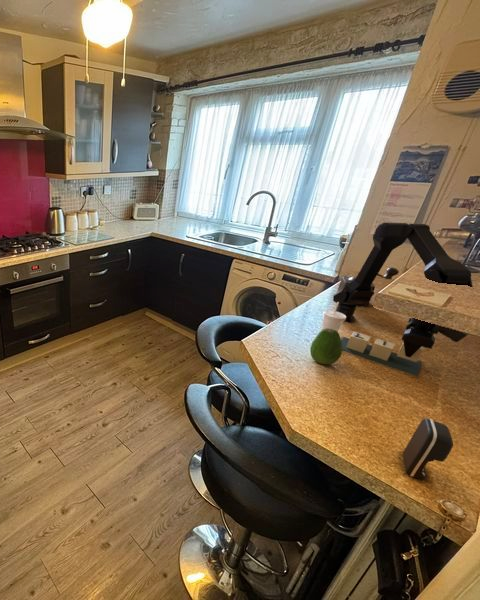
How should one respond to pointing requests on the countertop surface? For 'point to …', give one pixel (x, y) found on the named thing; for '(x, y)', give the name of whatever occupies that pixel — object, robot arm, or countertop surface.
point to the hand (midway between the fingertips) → (408, 353)
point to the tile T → (414, 356)
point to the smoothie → (333, 319)
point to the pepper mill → (389, 274)
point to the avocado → (326, 347)
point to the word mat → (392, 361)
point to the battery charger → (426, 447)
